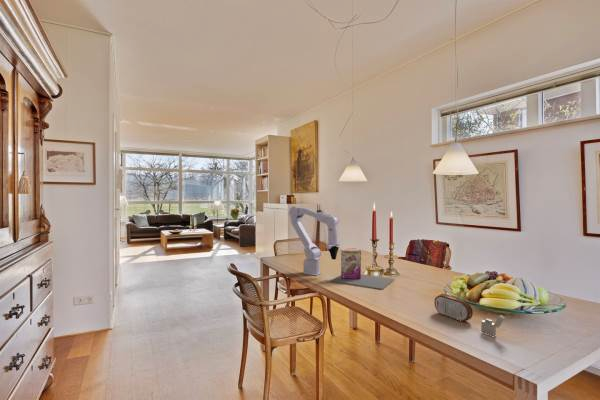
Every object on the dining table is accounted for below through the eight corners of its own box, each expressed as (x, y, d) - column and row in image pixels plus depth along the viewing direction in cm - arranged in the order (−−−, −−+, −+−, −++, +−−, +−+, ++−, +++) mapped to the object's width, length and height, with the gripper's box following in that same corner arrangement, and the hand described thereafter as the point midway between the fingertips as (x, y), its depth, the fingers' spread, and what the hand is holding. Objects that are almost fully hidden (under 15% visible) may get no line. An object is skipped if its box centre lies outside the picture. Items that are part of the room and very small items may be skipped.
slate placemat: (330, 281, 180) (330, 280, 180) (346, 273, 199) (346, 272, 199) (382, 289, 164) (382, 288, 164) (394, 279, 183) (394, 278, 183)
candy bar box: (341, 279, 183) (341, 250, 183) (341, 276, 188) (341, 249, 188) (361, 279, 182) (361, 250, 182) (360, 277, 187) (360, 249, 187)
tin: (473, 323, 121) (473, 301, 121) (468, 325, 120) (468, 302, 120) (437, 311, 134) (437, 291, 134) (433, 312, 133) (433, 292, 132)
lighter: (481, 333, 113) (481, 310, 113) (483, 331, 114) (483, 309, 114) (502, 340, 107) (502, 317, 107) (505, 339, 108) (505, 315, 108)
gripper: (333, 238, 183) (334, 261, 182) (344, 235, 195) (345, 257, 195) (322, 237, 186) (323, 261, 186) (333, 235, 199) (334, 256, 198)
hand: (333, 259), depth 191 cm, fingers closed
